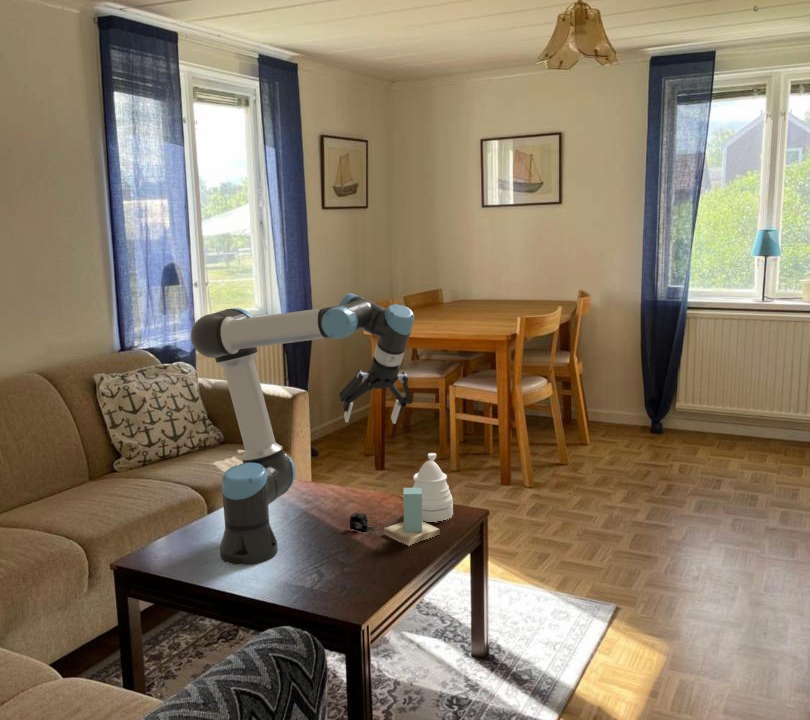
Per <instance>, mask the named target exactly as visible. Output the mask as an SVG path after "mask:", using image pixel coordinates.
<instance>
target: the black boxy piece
mask: <svg viewBox="0 0 810 720" xmlns="http://www.w3.org/2000/svg"><path fill="white" fill-rule="evenodd" d="M349 523H350V527H349V528H351V529H354V530H357V531H361V532H368V531H369V530H371V529H373V528H375V527H376V526H372V527H371V525H369V524H368V517H367V514H365V513H361V512H360V513H359V512H354V513H353V514H351V515H350V517H349ZM377 528H378V527H376V529H377Z"/></svg>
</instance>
